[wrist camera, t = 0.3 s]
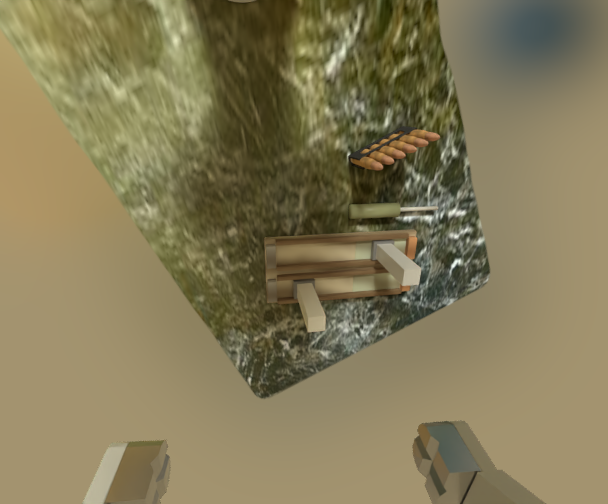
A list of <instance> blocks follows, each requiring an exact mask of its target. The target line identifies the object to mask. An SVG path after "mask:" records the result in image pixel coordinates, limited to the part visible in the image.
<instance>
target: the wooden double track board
mask: <svg viewBox="0 0 608 504" xmlns="http://www.w3.org/2000/svg"><path fill="white" fill-rule="evenodd" d="M416 232H417V231H415V230H395V231H375V232H356V233H337V234H318V235H299V236H279V237H264V247H265V270H266V293H267V303H274V302H278V304H289V303H299V302H298V299H294V297H293V280H299V279H312V278H314V279H315V291H316V294H317V296H318V299H319V301H323V300H335V299H346V298H358V297H369V296H381V295H392V294H401V292H402V291H408V290H410V285H407V286H402V285H401V284H400V283H399V282H398V281H397V280H396V279H395V278H394V277H393V276H392V275H391V274H390V273H389V272H388V271H387V269H386V268H385V267H384V266H383V265H382V264H381V263H380V262H379V261H378V260H372V259H371V248H372V241H374V240H394V241H395V242H394V246H395V247H396V248H397V249H399V250H400V251H401V252H402V253H403V254H405V255H406V256H407V257H408V258H409V259H411V260H412V259H414V257H415V251H416V244H417V238H416Z"/></svg>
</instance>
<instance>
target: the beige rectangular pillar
mask: <svg viewBox="0 0 608 504" xmlns="http://www.w3.org/2000/svg"><path fill="white" fill-rule="evenodd" d="M293 297H294V299H298V302H299V305H300V308H301V311H302V315H303V318H304V321H305V325H306V328H307V331H308V332H317V331H325V323H326V315H325V313H324V310H323V308H322V306H321V303H320V301H319V299H318V296H317V294H316V291H315V279H314V278H312V279H299V280H293Z"/></svg>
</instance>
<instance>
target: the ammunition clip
mask: <svg viewBox="0 0 608 504" xmlns="http://www.w3.org/2000/svg"><path fill="white" fill-rule="evenodd" d="M439 138H440V136H439V135H437V134H435V133H432V132H427V131H425V130H417V128H415V127H404V126H403V127H401V128H399V129H397V130H395V131H393V132H392V133H390V134H388V135H386V136H384V137H382V138H380V139H379V140H377V141H375V142H373V143H371V144H369V145H367V146H366V147H364V148H362V149H360V150H358V151H356V152H354V153H353V154H351V155H349V156H348V157H349V160H350V162H351V165H352V166H355V167H358V168H361V169H365V168H367V169H370V170H371V169H373V170H382V169H383V166H382V164H387V165H390V164H393V163H394V160H393V159H392V158H396V159H402V158H404V157H405V156H406V155H405V154H404V153H413V152H416V151H417V149H416V147H424V146H427V145H428V142H427V141H436V140H438V139H439Z"/></svg>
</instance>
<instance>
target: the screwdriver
mask: <svg viewBox="0 0 608 504" xmlns="http://www.w3.org/2000/svg"><path fill="white" fill-rule="evenodd" d="M425 210H438V206H430V207H405V208H400V204H399V203H373V204H350V205H349V207H348V215H349V218H350V219H360V218H382V217H398V216H399V215H400V212H401V211H425Z"/></svg>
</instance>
